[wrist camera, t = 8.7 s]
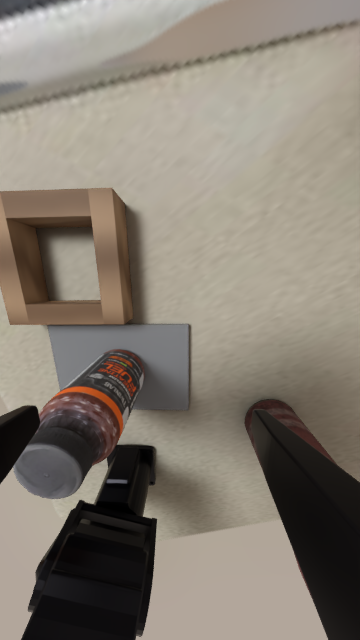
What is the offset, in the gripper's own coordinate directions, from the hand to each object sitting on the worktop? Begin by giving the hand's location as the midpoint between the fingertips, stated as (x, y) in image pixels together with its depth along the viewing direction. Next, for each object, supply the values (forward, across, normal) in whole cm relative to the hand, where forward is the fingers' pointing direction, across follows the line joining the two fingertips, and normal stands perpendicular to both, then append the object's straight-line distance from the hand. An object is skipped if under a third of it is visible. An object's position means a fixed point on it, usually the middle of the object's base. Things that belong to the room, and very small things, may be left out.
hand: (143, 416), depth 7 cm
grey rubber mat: (+13, +6, +5) cm, 15 cm away
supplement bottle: (+13, +6, +5) cm, 15 cm away
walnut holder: (+13, +10, -7) cm, 18 cm away
